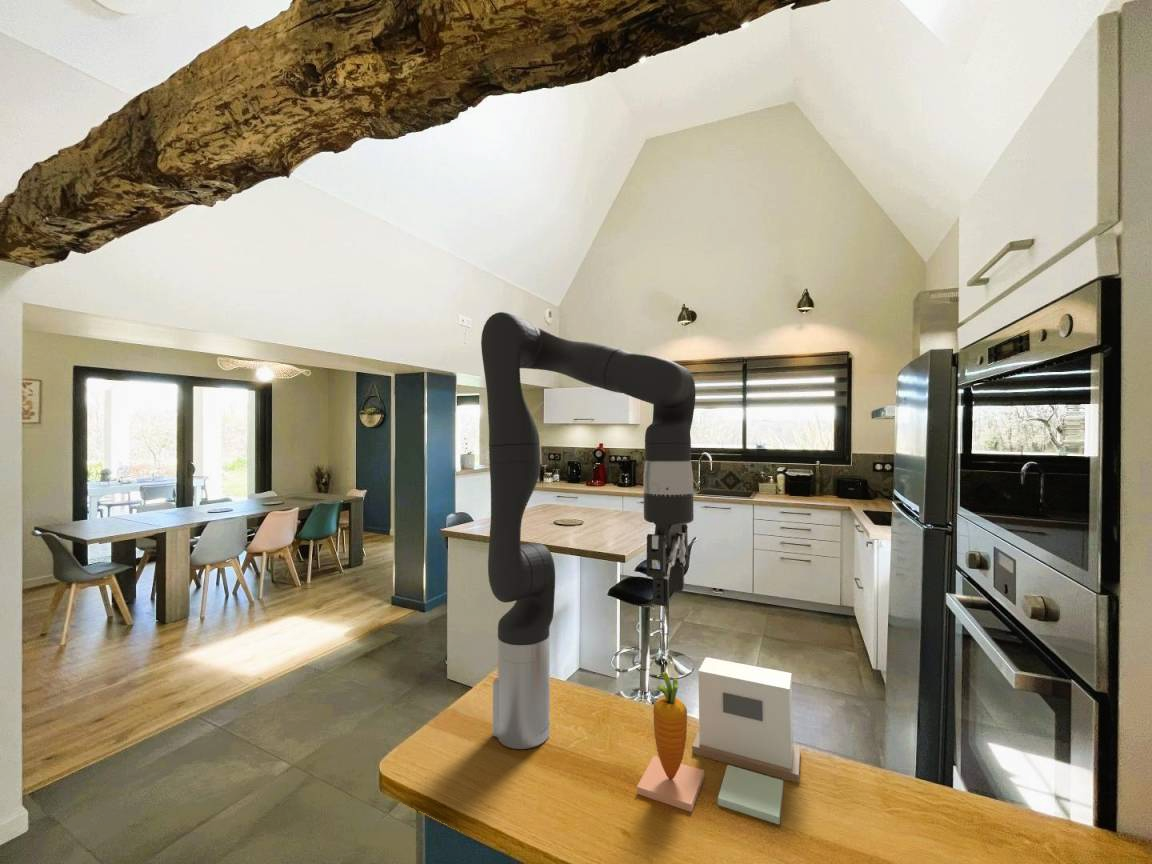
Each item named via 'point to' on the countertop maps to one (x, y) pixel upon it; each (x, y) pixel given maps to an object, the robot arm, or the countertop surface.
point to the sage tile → (751, 794)
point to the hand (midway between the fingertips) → (669, 597)
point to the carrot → (670, 727)
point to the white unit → (747, 718)
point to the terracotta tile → (671, 785)
